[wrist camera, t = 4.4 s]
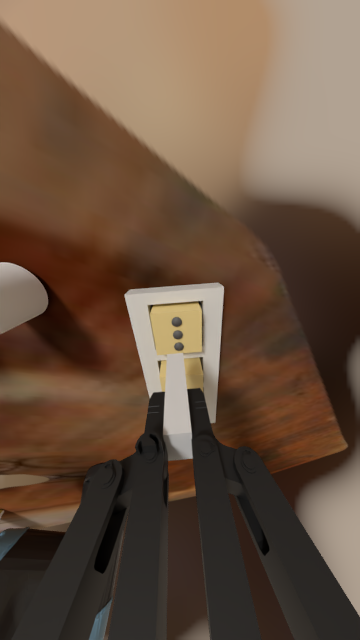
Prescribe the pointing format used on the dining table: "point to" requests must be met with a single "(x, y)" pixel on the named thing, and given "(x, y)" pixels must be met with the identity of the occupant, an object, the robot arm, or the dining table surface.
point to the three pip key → (177, 327)
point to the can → (19, 296)
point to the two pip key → (186, 373)
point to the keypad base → (210, 354)
